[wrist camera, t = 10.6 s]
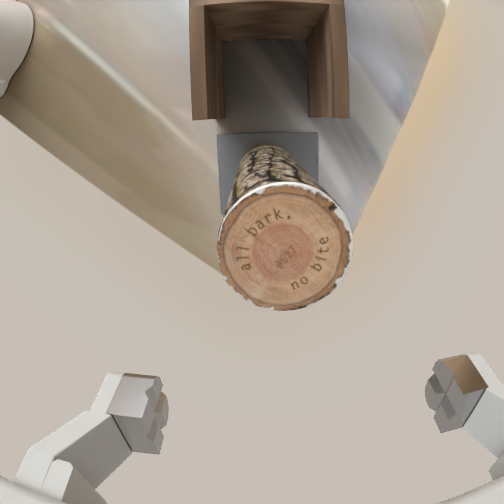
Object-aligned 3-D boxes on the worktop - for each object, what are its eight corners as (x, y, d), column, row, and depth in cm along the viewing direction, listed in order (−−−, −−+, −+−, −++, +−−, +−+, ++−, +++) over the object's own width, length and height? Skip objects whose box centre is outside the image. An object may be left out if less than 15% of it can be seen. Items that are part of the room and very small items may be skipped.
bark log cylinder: (227, 173, 39) (188, 259, 16) (263, 131, 37) (281, 152, 14) (269, 208, 41) (288, 331, 18) (305, 168, 39) (379, 245, 16)
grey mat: (221, 212, 42) (221, 213, 41) (217, 134, 38) (216, 134, 37) (315, 210, 41) (316, 211, 41) (316, 132, 37) (317, 133, 37)
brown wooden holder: (214, 118, 37) (192, 120, 24) (211, 33, 32) (189, -6, 19) (318, 116, 36) (349, 118, 24) (315, 31, 32) (342, -7, 19)
